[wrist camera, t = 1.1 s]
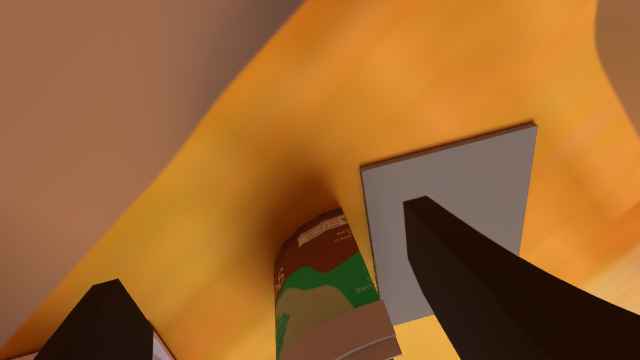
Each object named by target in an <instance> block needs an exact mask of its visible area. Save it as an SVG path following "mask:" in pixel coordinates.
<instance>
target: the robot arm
mask: <svg viewBox="0 0 640 360" xmlns="http://www.w3.org/2000/svg"><path fill="white" fill-rule="evenodd" d="M403 210H404V221H405V233H406V245H407V257H408V261H409V263H410V265H411V268H412V270H413V272H414V275H415V277H416V279H417V282H418V284H419V286H420V288H421V291H422V293H423V295H424V297H425V298H426V300H427V302H428V304H429V305H430V307H431V309H432V311H433V312H434V314H435V316H436V318H437V319H438V321H439V323H440V324H441V326H442V328H443V330H444V331H445V333H446V335H447V336H448V338H449V340H450V342H451V343H452V345H453V347H454V348H455V350H456V352H457V354H458V355H459V357H460V359H461V360H640V315H638V314H635V313H633V312H630V311H628V310H626V309H623V308H621V307H618V306H616V305H614V304H611V303H609V302H607V301H605V300H602V299H600V298H598V297H596V296H594V295H591V294H589V293H587V292H585V291H583V290H581V289H579V288H577V287H575V286H573V285H571V284H569V283H567V282H565V281H563V280H561V279H559V278H557V277H555V276H553V275H551V274H549V273H547V272H545V271H543V270H542V269H540V268H538V267H536V266H534V265H533V264H531V263H529V262H527V261H526V260H524V259H522V258H520V257H519V256H517V255H515V254H514V253H512V252H510V251H509V250H507V249H505V248H504V247H502V246H501V245H499V244H497V243H496V242H494V241H493V240H491V239H490V238H488V237H486V236H485V235H483V234H482V233H480V232H479V231H477V230H476V229H474V228H473V227H471V226H470V225H468V224H467V223H465V222H464V221H462V220H461V219H459V218H458V217H457V216H455V215H454V214H452V213H451V212H449V211H448V210H447V209H445V208H444V207H442V206H441V205H439V204H438V203H437V202H435V201H434V200H432V199H431V198H429V197H428V196H422V197H418V198H415V199H411V200H407V201H403ZM12 360H174V358H173V357H172V355H171V354H170V353H169V351H168V350H167V348H166V347H165V345H164V344H163V343H162V341H161V340H160V338H159V337H158V335H157V334H156V333H155V331H154V329H153V328H152V326H151V325H150V323H149V322H148V320H147V319H146V318H145V316H144V315H143V313H142V312H141V310H140V309H139V308H138V306H137V305H136V303H135V302H134V300H133V299H132V298H131V296H130V295H129V293H128V292H127V290H126V289H125V288H124V286H123V285H122V283H121V282H120V281H119V279H115V280H111V281H107V282H104V283H100V284H96V285H93V286H92V287H91V288H90V290H89V291H88V292H87V293H86V294H85V295H84V296H83V298H82V299H81V300H80V301H79V303H78V304H77V305H76V306H75V307H74V309H73V310H72V311H71V312H70V314H69V315H68V316H67V317H66V319H65V320H64V321H63V323H62V324H61V325H60V326H59V328H58V329H57V330H56V331H55V333H54V334H53V335H52V336H51V338H50V339H49V340H48V341H47V343H46V344H45V345H44V346H43V348H42V349H41V350H40V351H39V352H37V353H34V354H30V355H26V356H23V357H19V358H15V359H12Z"/></svg>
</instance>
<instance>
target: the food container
mask: <svg viewBox="0 0 640 360" xmlns="http://www.w3.org/2000/svg"><path fill="white" fill-rule="evenodd" d="M274 289H275V329H276V360H393V358H395V357H398V356H401V355H402V352H401V349H400V347H399V344H398V342H397V339H396V334H395V331H394V328H393V326H392V323H391V320H390V317H389V315H388V312H387V309H386V306H385V304H384V301H383V299H382V300H380V299H379V296H378V294H377V291H376V289H375V287H374V284H373V282H372V279H371V277H370V275H369V272H368V270H367V267H366V265H365V263H364V260H363V258H362V255H361V253H360V251H359V248H358V246H357V243H356V241H355V239H354V236H353V234H352V232H351V229H350V227H349V224H348V222H347V220H346V217H345V215H344V212H343V210H342V208H338V209H335V210H332V211H329V212H326V213H323V214H321V215H319V216H317V217H316V218H314V219H312V220H311V221H309V222H307V223H306V224H304V225H302V226H301V227H299V228H298V229H297V230H296V231H295V232H294V234H293V235H292V236H291V237H290V238H289V239H288V240H287V241H286V242H285V243H284V244H283V246H282V248H281V250H280V252H279V255H278V257H277V259H276V261H275V270H274Z"/></svg>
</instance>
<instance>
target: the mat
mask: <svg viewBox="0 0 640 360" xmlns="http://www.w3.org/2000/svg"><path fill="white" fill-rule="evenodd" d="M537 128H538V125H536V124H535V123H530V124H526V125H522V126H518V127H514V128H511V129H507V130H503V131H499V132H495V133H491V134H487V135H484V136H480V137H476V138H472V139H468V140H464V141H461V142H457V143H453V144H449V145H445V146H441V147H437V148H434V149H430V150H426V151H422V152H418V153H414V154H410V155H407V156H403V157H399V158H395V159H391V160H387V161H384V162H380V163H376V164H372V165H368V166H364V167H360V173H361V179H362V186H363V193H364V200H365V206H366V213H367V220H368V226H369V233H370V240H371V247H372V253H373V260H374V267H375V273H376V280H377V287H378V294H379V299H380V300H382V299H383V301H384V304H385V306H386V309H387V312H388V315H389V317H390V320H391V323H392V326H395V325H398V324H402V323H405V322H409V321H412V320H416V319H419V318H423V317H426V316H430V315H434V312H433V311H432V309H431V307H430V305H429V304H428V302H427V300H426V298H425V297H424V295H423V293H422V291H421V288H420V286H419V284H418V282H417V279H416V277H415V275H414V272H413V270H412V268H411V265H410V263H409V261H408V257H407V245H406V233H405V221H404V210H403V201H407V200H411V199H415V198H418V197H422V196H428V197H429V198H431V199H432V200H434V201H435V202H437V203H438V204H439V205H441V206H442V207H444V208H445V209H447V210H448V211H449V212H451V213H452V214H454V215H455V216H457V217H458V218H459V219H461V220H462V221H464V222H465V223H467V224H468V225H470V226H471V227H473V228H474V229H476V230H477V231H479V232H480V233H482V234H483V235H485V236H486V237H488V238H490V239H491V240H493V241H494V242H496V243H497V244H499V245H501V246H502V247H504V248H505V249H507V250H509V251H510V252H512V253H514V254H515V255H517V256H519V251H520V244H521V237H522V230H523V224H524V217H525V210H526V203H527V196H528V189H529V183H530V176H531V169H532V162H533V155H534V149H535V142H536V135H537Z"/></svg>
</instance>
